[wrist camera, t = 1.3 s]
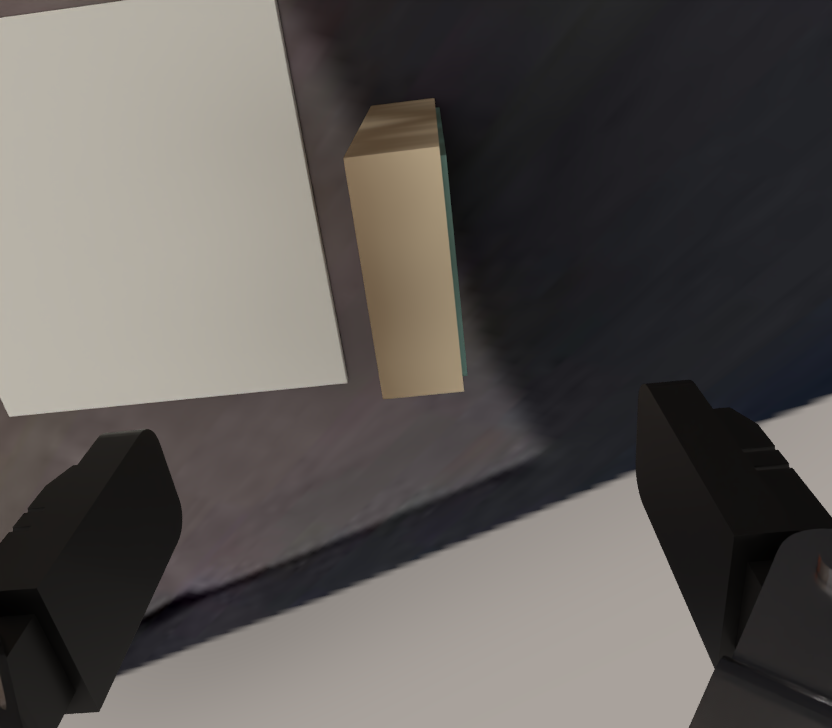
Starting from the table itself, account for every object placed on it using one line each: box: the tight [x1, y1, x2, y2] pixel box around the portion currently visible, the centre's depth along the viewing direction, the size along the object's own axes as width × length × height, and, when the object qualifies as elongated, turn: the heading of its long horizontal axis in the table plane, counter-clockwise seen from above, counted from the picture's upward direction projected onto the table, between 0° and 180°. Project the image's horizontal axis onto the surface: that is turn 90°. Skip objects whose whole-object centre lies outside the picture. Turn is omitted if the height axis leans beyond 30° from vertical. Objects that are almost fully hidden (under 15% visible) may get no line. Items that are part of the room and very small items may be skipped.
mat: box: [0, 0, 348, 417], centre depth 28 cm, size 16×16×1 cm
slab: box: [343, 98, 467, 399], centre depth 23 cm, size 2×7×10 cm, turn 7°
